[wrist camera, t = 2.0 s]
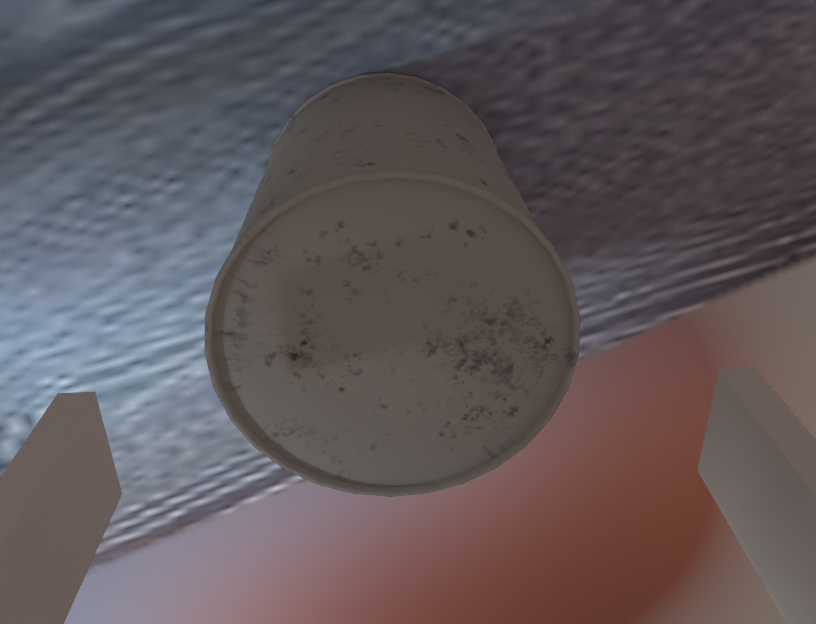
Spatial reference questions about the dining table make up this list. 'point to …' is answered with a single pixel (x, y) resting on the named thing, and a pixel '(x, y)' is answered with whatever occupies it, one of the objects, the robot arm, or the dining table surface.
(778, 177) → the dining table surface
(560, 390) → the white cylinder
